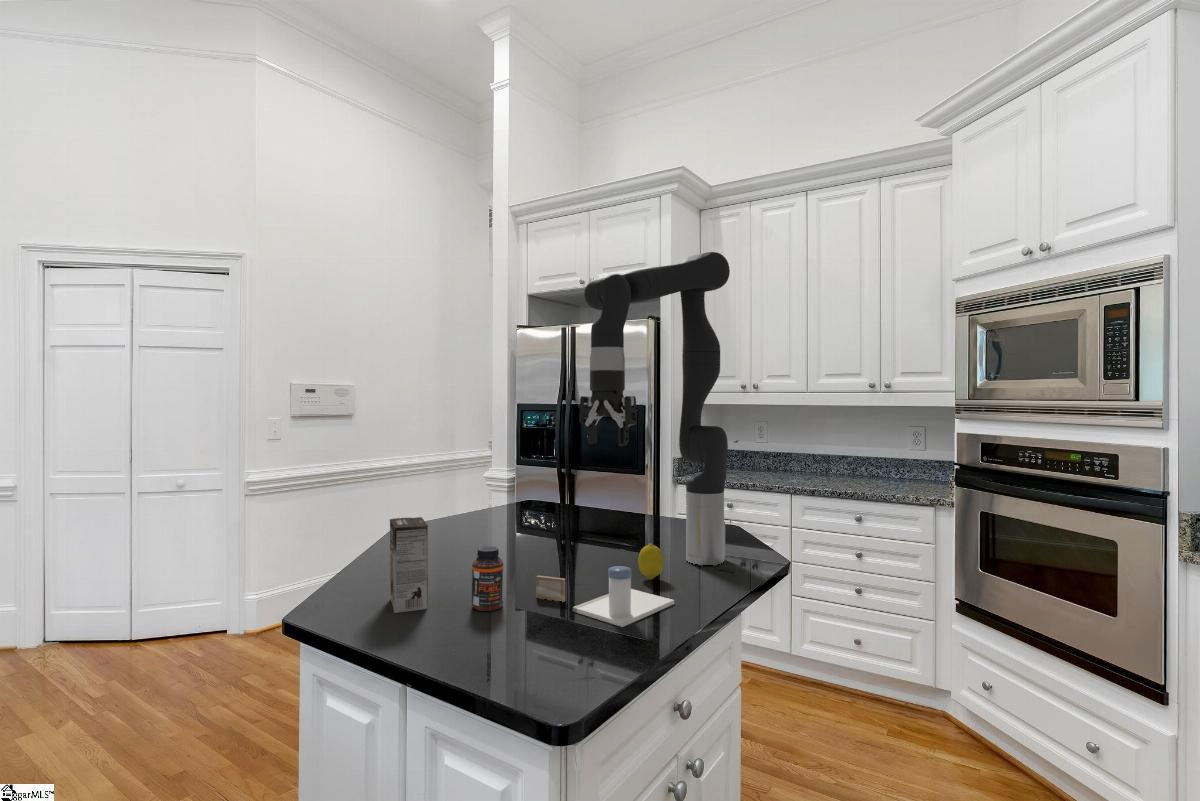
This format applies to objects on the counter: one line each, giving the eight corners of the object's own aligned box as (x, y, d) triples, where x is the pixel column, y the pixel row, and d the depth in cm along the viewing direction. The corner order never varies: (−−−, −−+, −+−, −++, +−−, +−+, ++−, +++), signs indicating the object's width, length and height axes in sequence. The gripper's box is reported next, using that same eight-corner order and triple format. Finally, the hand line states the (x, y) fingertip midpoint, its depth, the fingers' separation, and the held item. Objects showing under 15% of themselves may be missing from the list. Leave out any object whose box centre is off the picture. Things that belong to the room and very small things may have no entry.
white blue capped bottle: (618, 608, 116) (618, 564, 116) (636, 613, 113) (636, 568, 113) (603, 614, 113) (603, 569, 113) (621, 620, 110) (621, 573, 110)
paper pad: (626, 591, 129) (626, 587, 129) (674, 604, 121) (674, 599, 121) (572, 611, 116) (572, 607, 116) (622, 627, 109) (622, 622, 109)
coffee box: (389, 599, 124) (389, 518, 123) (422, 595, 126) (422, 515, 126) (393, 613, 115) (393, 527, 115) (428, 609, 118) (428, 524, 118)
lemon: (661, 584, 133) (662, 547, 133) (636, 582, 135) (636, 545, 135) (664, 576, 139) (664, 541, 139) (640, 575, 140) (640, 540, 140)
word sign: (537, 597, 125) (538, 575, 125) (565, 600, 123) (565, 578, 123) (536, 598, 124) (536, 576, 124) (563, 602, 122) (563, 579, 122)
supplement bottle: (476, 614, 115) (476, 553, 115) (468, 604, 120) (467, 546, 120) (507, 609, 118) (507, 549, 118) (497, 600, 123) (497, 543, 123)
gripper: (644, 368, 131) (644, 445, 131) (594, 370, 140) (594, 442, 141) (622, 367, 125) (622, 447, 126) (571, 369, 135) (571, 444, 135)
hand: (607, 444), depth 133 cm, fingers open, 8 cm apart
